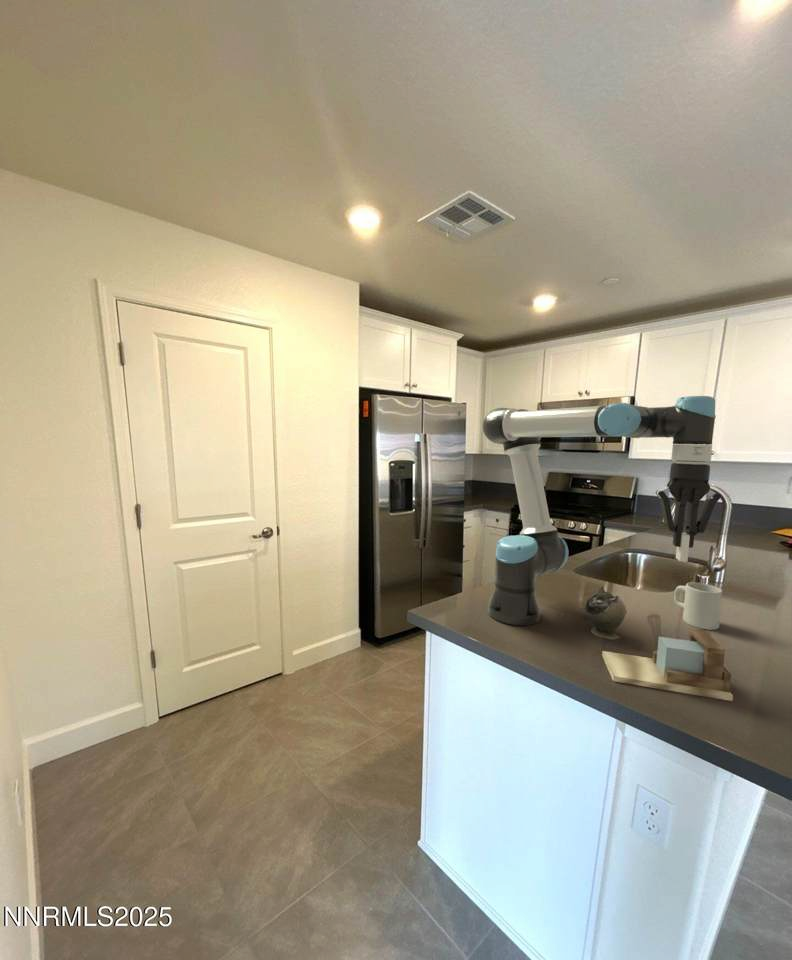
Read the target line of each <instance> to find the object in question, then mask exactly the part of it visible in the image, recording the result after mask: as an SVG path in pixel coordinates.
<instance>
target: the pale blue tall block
mask: <svg viewBox="0 0 792 960" xmlns="http://www.w3.org/2000/svg"><path fill="white" fill-rule="evenodd" d="M656 651H657V662H656V666H657V668H658V669H659V671H660V672H661V674H662V675H663V677H664V678H665V669H671V670H677V671H684V672H690V673H697V674H702V672H703V662H704V652H705V649H704V648H703V647H702V646H701V645H700V644H699V643H698V642H695V641H688V639H680V638H679V639H677V638H673V637H665V636H658V641H657V650H656Z"/></svg>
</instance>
